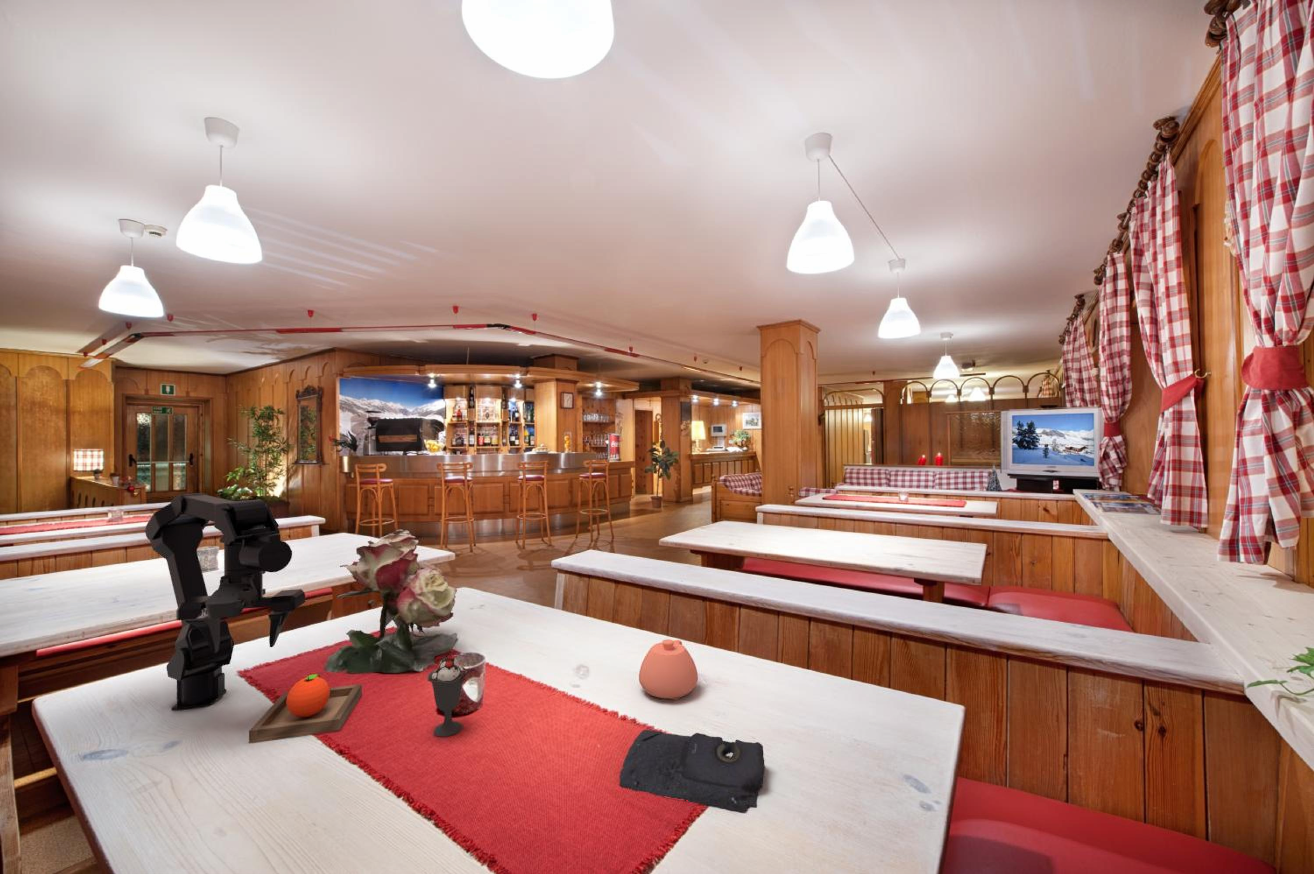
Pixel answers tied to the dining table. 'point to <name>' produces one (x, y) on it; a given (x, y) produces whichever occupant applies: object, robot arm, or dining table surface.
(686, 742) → the black grommet pouch
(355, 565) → the rose bouquet
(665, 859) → the dining table surface
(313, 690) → the clementine
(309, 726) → the walnut dish
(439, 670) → the sundae
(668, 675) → the sugar bowl
